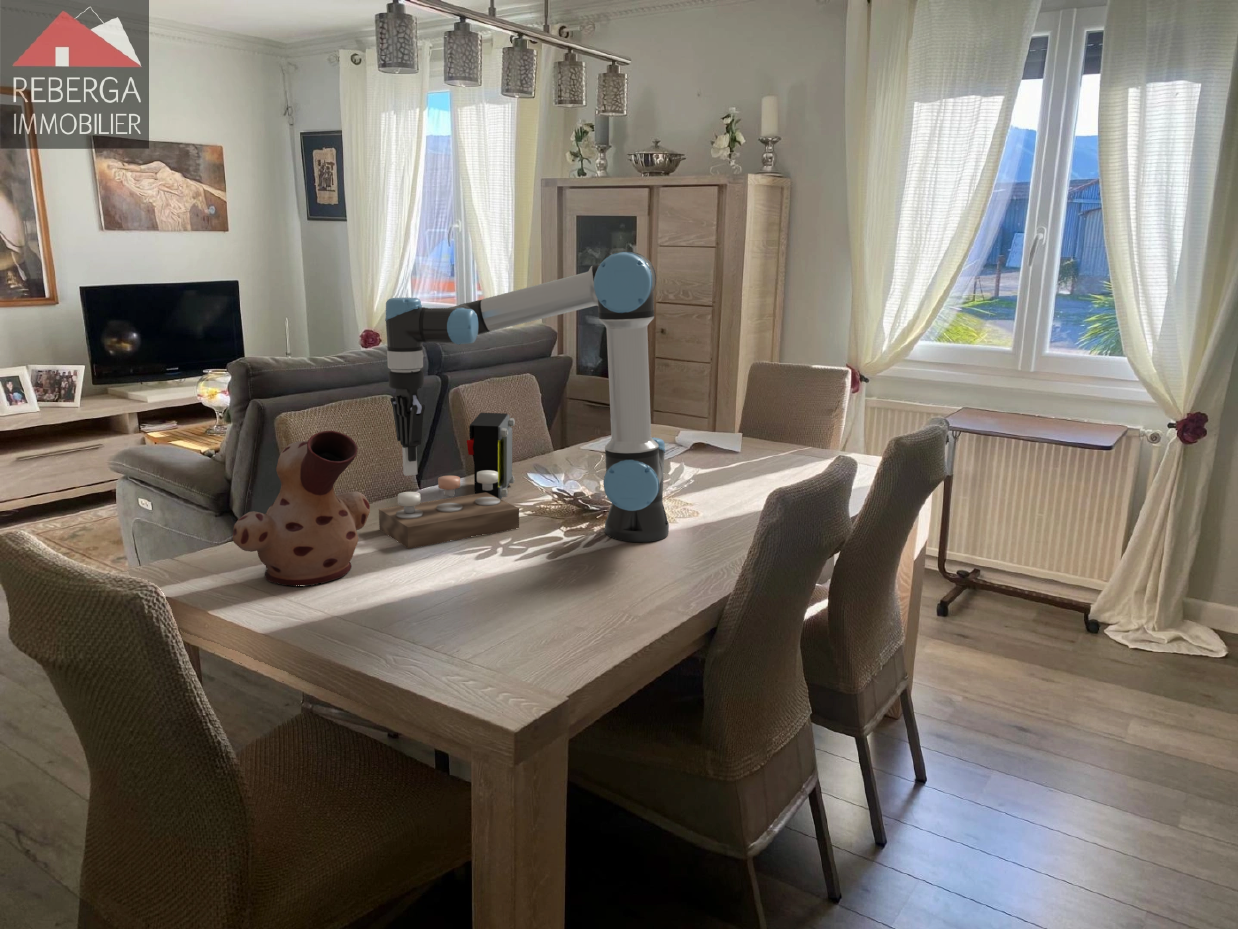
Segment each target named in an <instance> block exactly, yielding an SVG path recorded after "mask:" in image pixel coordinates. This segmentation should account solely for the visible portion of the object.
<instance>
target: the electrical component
mask: <svg viewBox="0 0 1238 929" xmlns="http://www.w3.org/2000/svg"><path fill="white" fill-rule="evenodd" d="M515 424H516V421H515V418H514V417H510V414H508V413H506V412H505V413H502V412H501V413H500V412H499V413H498V412H480V413H479V414H478V415H477V416H476V417H475V418H474V420H473V421H472V422H471V423H470V424H469V428H468V429H469V439H467V440H466V446H467V454H468V456H472V459H473V466H474V467H473V471H474V473H473V474H474V476H473V478H474V479H473V480H474V482H473V483H474V491H473V492H474V494H479V493H485V492H486V493H489V494H491V495H493V496H495V497H497V498H499V499H501V500H503V498H506V497H508V493H509V491H508V488H509V485H510V484H514V483H515V475H513V427H514V426H515ZM484 470H491V471H496V472H498V482H496V483H493V489H492V490H488V491H487V490H483V489H482V483H478V482H477V472H479V471H484Z"/></svg>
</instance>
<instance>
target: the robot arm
mask: <svg viewBox="0 0 1238 929" xmlns="http://www.w3.org/2000/svg"><path fill="white" fill-rule="evenodd" d="M656 286H657V273H656V270H655V268H654V265H653V264H652V262H651V261H650V260H649V259H648V258H647V257H646V256H645V255H642V254H641V253H638V252H635V251H621V252H615V253H612V254H611V255H608V256H607V257H606V258H604V259H603V261H601V263H598V264H594V265H591V266H590V267H589V270H588V271H586V272H581V273H578V274H575V275H570V276H567V277H563V278H559V279H554V280H551V281H547V282H543V283H539V284H535V285H532V286H529V287H528V286H527V287H524V288H520V289H516V290H512V291H508V292H504V293H501V294H496V295H493V296H490V297H485V298H482V299H479V300H474V301H470V302H465V303H461V304H458V305H454V306H450V307H425V306H423V305H422V301H421V300H420V298H417V297H390V298H389V299H387V301H386V303H385V319H384V320H385V321H384V322H385V330H386V331H385V332H386V343H387V346H386V347H387V350H386V353H387V354H386V355H387V358H386V359H387V368H388V369H389V371H388V387H389V388H390V389H393V390H395V397H391V398H390V403H391V407H392V412H393V420H394V426H395V433H396V439H397V441H398V442H400V445H401V447H402V448H401V449H402V450H401V451H402V471H403V474H402V475H404V476H406V477H408V476H414V475H418V458H417V457H418V454H417V451H418V450H417V447H418V446H420V445H422V439H423V438H422V435H423V424H424V423H423V422H424V413H425V410H426V406H425V404H424V403H423V404H420V396H419V391H418V390H419V389H421V388H423V387H424V386H425V376H424V374H425V372H424V371H423V370H422V368H424V357H425V353H423V350H424V349H423V346H424V345H423V344H424V343H425V344H429V343H430V344H431V343H432V344H433V343H434V344H455V345H458V346H459V345H466V344H473V343H475V342H476V340H477V338H478V336H479V335H484V334H487V333H491V332H493V331H494V332H495V331H498V330H502V329H507V328H511V327H514V326H519V325H522V324H527V323H531V322H536V321H538V320H543V319H547V318H550V317H556V316H559V315H563V314H566V313H571V312H575V311H580V310H583V309H587V308H591V307H595V306H597V307H598V308H597V311H598V321H599V322H600V323H601V324H603V326H605V329H606V347H607V367H608V368H607V370H608V386H609V387H608V388H609V389H608V390H609V391H608V392H609V408H610V410H609V411H610V412H609V413H610V414H609V415H610V434H611V439H610V440H609V441H608V443H607V444H606V445H605V447H604V451H605V452H604V453H605V474H604V476H603V483H602V485H603V490H604V494H605V496H606V497H607V499H608V500H609V502H610V503H611V505H610V508H609V510H608V514H607V518H606V519H605V521H604V534H605V535H607V536H608V537H610V538H612V539H615V540H618V541H623V542H630V543H649V542H656V541H661V540H663V539H665V538H667V537H668V536H669V534H670V533H669V532H670V531H669V528H670V524H669V521H668V517H667V514H666V510H665V506H664V502H663V498H664V497H663V496H664V474H665V454H666V448H665V447H666V445H665V441H664V440H663V439H662V438H659V437H652V426H651V425H652V419H651V417H652V416H651V397H650V396H651V395H650V394H651V392H650V389H651V388H650V369H649V368H650V366H649V341H648V340H649V338H648V337H649V334H648V333H649V332H648V326H649V324H650V323H651V322H652V321H653V320H654V319H655V302H654V298H655V297H654V291H655V288H656ZM422 306H423V307H422Z"/></svg>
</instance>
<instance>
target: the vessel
mask: <svg viewBox="0 0 1238 929" xmlns="http://www.w3.org/2000/svg"><path fill="white" fill-rule="evenodd" d="M357 454H358V444H357V443H356V442H355V440H353V438H351V436H349V435H347V434H344V433H342V432H339V431H334V430H324V431H319V432H317V433H314V434H313V435H311V436H310V437H309V438H308V440H298V441H295V442H291V443H289V444H288V445H287V446H286V447H284V448H283V450H282V451H281V452H280V454H279V457H278V459H277V465H276V467H275V470H276V473H277V475H276V476H278V478H279V481H280V484H281V485H280V489H279V493H278V494H277V496H276V498H275V500H274V502H272V504H271V505H270V506H269V507H268V509H267V510H266V513H263V512H258V511H248V512H247V513H245V514H243V515H242V516H240V518H238V519H237V521H236V522H235V523H234V524H233V530H232V531H233V532H232V541H233V543H234V544H235V545H236V546H237V547H238V548H240V549H241V550H242V551H244V552H253V553H254V552H256V551H257V557H258V558H259V561H260V562H261V563H262V564H263V565H264V566H265V568H266V570H265V572H264V578H265V579H266V581H268V582H271V583H274V584H277V583H279V584H278V585H281V584H283V586H287V585H291V587H292V585H293V587H297V586H298V585H299V586H300V585H311V586H314V585H313V584H316V585H319V584H318V583H321V584H325V583H326V582H328V583H329V582H331V581H333V580H337V579H340V578H342V577H344V576H345V575H347V574H348V573H349V572H350V571H351V569H352V562H351V560H352V558H353V557H354V553H355V551H356V547H357V546H358V544H359V535H358V532H357V531H358V530H361V529H362V528H364V527H365V525H366V523H367V521H368V518H369V514H370V513H371V505H370V502H369V499H367V497H366V495H364V494H363V493H362V492H360V491H348V492H346V491H345V492H342V493H340V494H337V495H336V493H335V490H334V489H335V488H334V486H335V483H336V482H337V480H338V479H339V477H340V476H341V475H342V473H343V472H344V471H345V470H346V469H347V468H348V466H350V464H351V463H353V461H354V460H355V458H356V457H357V456H358V455H357ZM296 585H297V586H296Z"/></svg>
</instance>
